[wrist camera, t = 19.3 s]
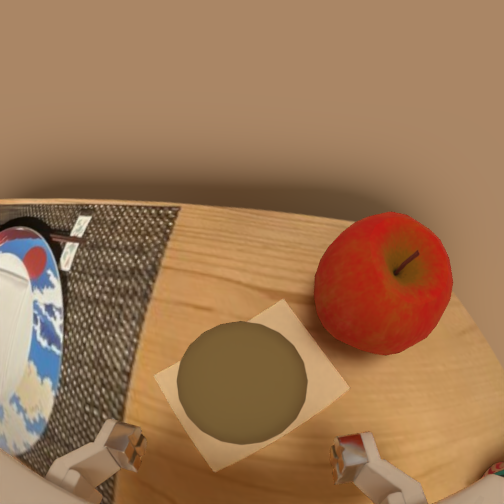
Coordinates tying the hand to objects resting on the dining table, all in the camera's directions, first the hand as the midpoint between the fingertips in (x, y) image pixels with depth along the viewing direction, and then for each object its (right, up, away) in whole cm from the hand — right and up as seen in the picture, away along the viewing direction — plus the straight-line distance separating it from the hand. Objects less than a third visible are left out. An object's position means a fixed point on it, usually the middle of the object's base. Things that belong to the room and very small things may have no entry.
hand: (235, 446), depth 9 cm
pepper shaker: (+1, -2, +9) cm, 10 cm away
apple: (+9, +3, +12) cm, 15 cm away
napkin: (+1, -2, +9) cm, 10 cm away
